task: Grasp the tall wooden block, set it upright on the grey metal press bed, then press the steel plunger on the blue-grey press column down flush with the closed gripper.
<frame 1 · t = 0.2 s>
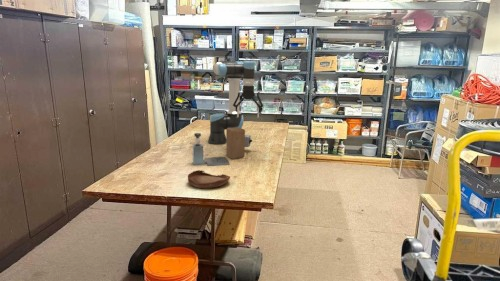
hand: (247, 117, 227), 28 cm above the table, fingers open, 13 cm apart
wooden block: (235, 157, 234), on the table
circuit breaker: (242, 150, 251), on the table
broken brown bowl: (209, 184, 182), on the table
press: (216, 162, 220), on the table
plunger: (197, 141, 214), point 15 cm above the table, slide at 0.0 cm
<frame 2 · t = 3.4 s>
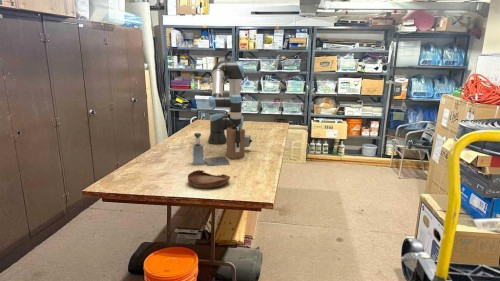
hand: (235, 149, 232), 5 cm above the table, fingers closed on wooden block, 11 cm apart
wooden block: (235, 157, 234), on the table, touching gripper
everything else where it was.
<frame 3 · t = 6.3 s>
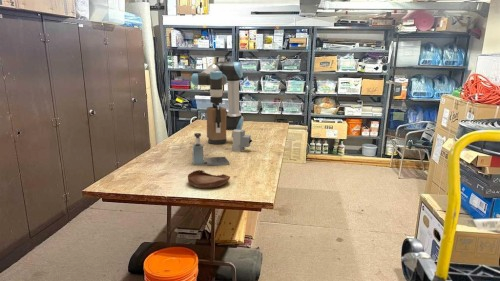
hand: (216, 131, 216), 21 cm above the table, fingers closed on wooden block, 11 cm apart
wooden block: (216, 138, 217), point 16 cm above the table, touching gripper
everything else where it was.
when the fingers open (8 cm above the table, at t = 9.2 s): wooden block drops 1 cm, resting on press.
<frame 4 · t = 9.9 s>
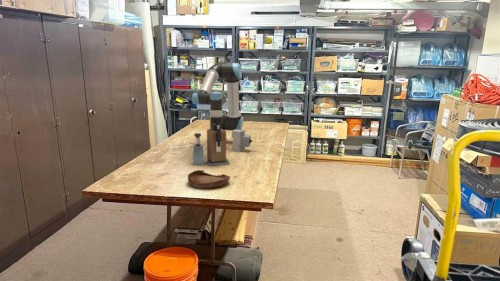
hand: (216, 149, 218), 9 cm above the table, fingers open, 13 cm apart
wooden block: (216, 160, 220), point 1 cm above the table, touching press
everything else where it was.
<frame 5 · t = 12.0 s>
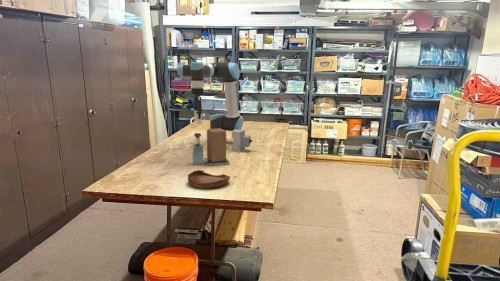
hand: (197, 122, 211), 27 cm above the table, fingers open, 12 cm apart
nothing on the table moved.
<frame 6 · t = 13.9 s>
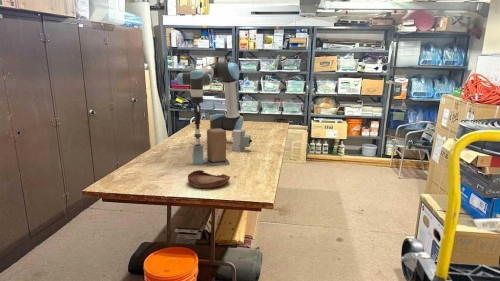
hand: (197, 133, 213), 19 cm above the table, fingers closed
plunger: (197, 141, 214), point 14 cm above the table, slide at 0.4 cm, touching gripper
everything else where it was.
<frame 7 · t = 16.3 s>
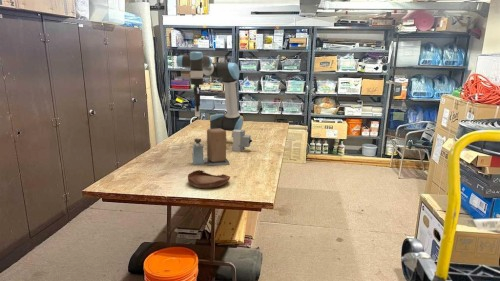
hand: (197, 116, 210), 30 cm above the table, fingers closed
plunger: (197, 146, 214), point 11 cm above the table, slide at 3.6 cm
everything else where it was.
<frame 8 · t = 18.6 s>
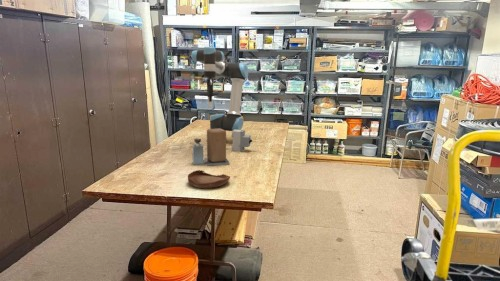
hand: (210, 106, 229), 34 cm above the table, fingers closed
nothing on the table moved.
at the end: wooden block inside the target area on the press (0.1 cm from its centre), point 1.3 cm above the press's base; wooden block tilted 0°; plunger slide at 3.6 cm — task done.
